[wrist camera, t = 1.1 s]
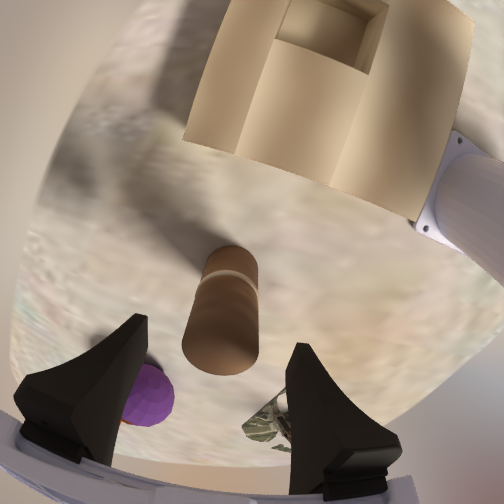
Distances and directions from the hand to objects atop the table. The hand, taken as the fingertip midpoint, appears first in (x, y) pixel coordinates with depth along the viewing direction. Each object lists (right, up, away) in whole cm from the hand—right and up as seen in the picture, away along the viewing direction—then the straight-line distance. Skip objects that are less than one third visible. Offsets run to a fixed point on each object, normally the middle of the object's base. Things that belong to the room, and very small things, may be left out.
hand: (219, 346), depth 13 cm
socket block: (+7, +16, +1) cm, 17 cm away
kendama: (-13, -12, +15) cm, 23 cm away
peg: (0, +3, +7) cm, 8 cm away
